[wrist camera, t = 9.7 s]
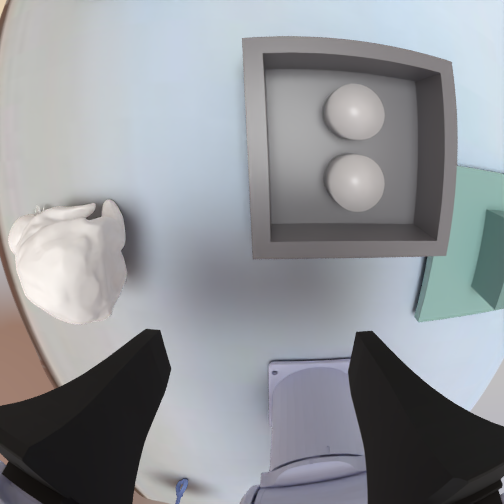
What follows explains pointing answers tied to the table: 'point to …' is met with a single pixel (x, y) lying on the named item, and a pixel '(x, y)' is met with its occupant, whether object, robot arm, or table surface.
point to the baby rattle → (180, 492)
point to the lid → (468, 252)
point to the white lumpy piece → (71, 260)
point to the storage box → (348, 149)
